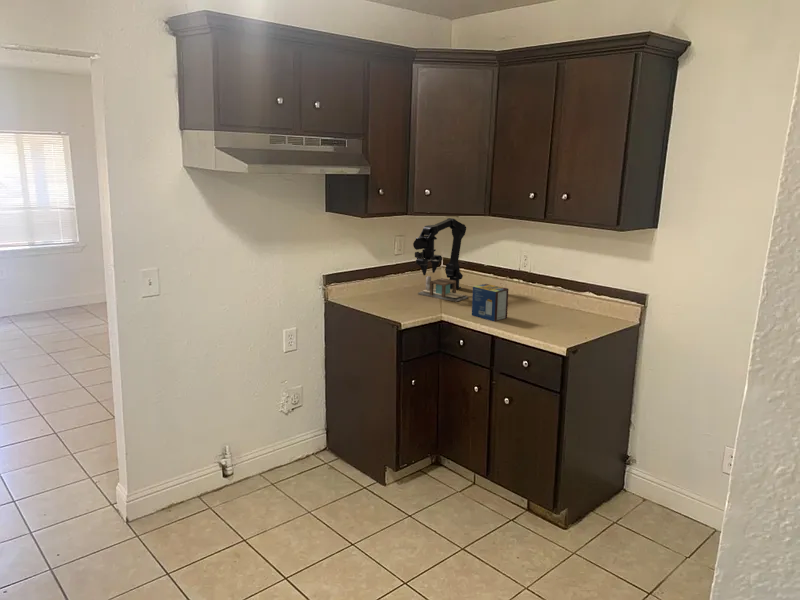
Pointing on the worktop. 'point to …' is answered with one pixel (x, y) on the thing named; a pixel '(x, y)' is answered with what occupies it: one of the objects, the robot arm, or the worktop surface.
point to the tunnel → (443, 290)
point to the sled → (453, 295)
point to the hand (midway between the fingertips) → (428, 274)
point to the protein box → (490, 302)
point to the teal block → (439, 289)
